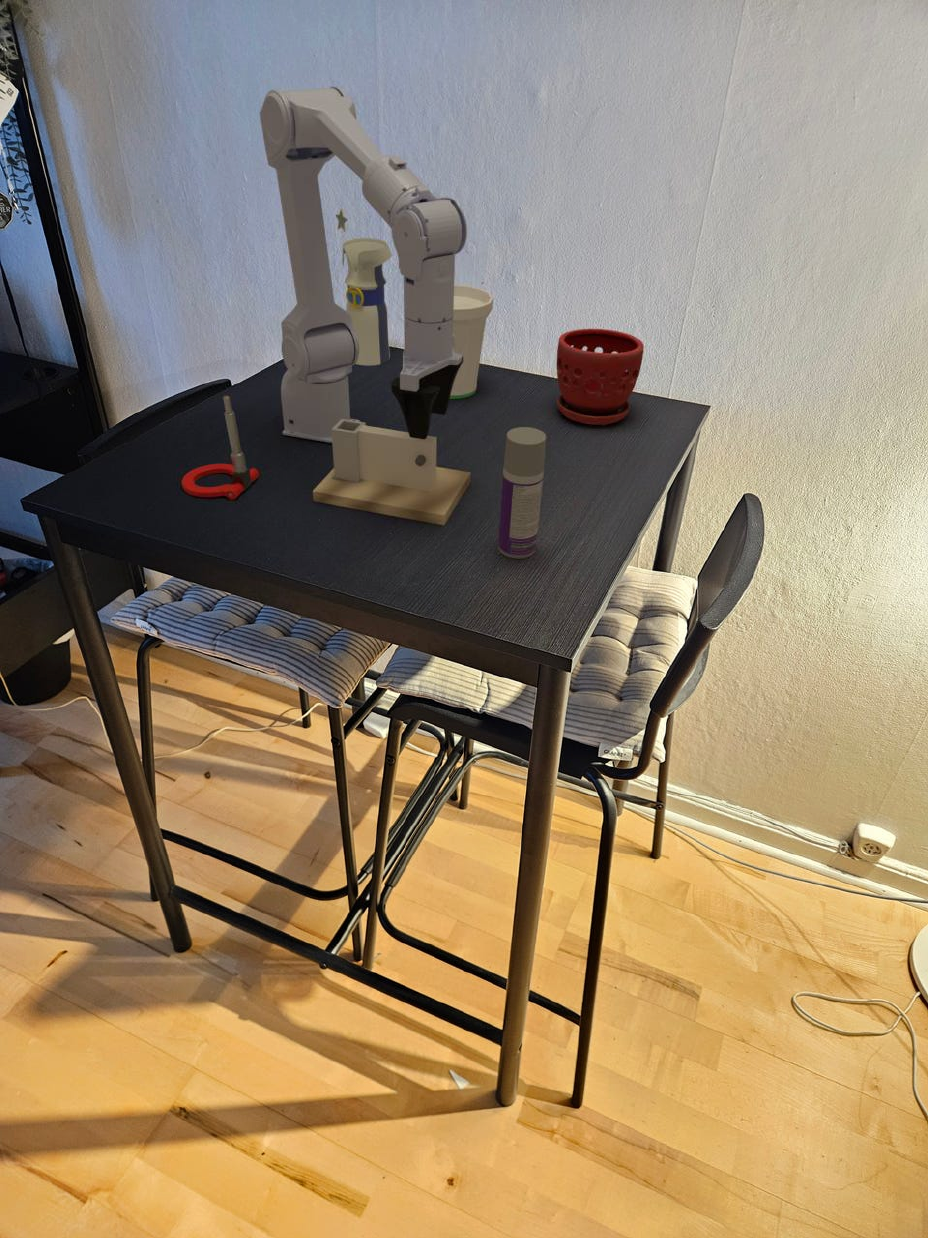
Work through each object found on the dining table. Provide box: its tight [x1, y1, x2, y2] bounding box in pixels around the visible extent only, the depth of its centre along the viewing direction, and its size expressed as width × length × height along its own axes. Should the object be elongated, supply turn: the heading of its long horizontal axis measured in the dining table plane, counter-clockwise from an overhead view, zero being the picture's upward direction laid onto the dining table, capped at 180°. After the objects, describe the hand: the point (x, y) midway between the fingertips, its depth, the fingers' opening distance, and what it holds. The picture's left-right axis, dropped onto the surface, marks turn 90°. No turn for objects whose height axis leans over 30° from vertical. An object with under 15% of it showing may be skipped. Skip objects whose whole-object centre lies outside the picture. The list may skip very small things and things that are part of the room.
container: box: [497, 426, 547, 560], centre depth 98 cm, size 5×5×15 cm
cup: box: [450, 283, 494, 400], centre depth 136 cm, size 12×12×15 cm
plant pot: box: [556, 328, 645, 426], centre depth 131 cm, size 13×13×12 cm
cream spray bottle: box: [335, 208, 393, 366], centre depth 143 cm, size 8×9×25 cm
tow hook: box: [181, 395, 260, 501], centre depth 109 cm, size 8×13×9 cm
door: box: [331, 419, 438, 492], centre depth 110 cm, size 13×3×7 cm, turn 74°
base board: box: [312, 466, 472, 526], centre depth 111 cm, size 18×12×5 cm, turn 74°
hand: (428, 424), depth 105 cm, fingers open, 7 cm apart
